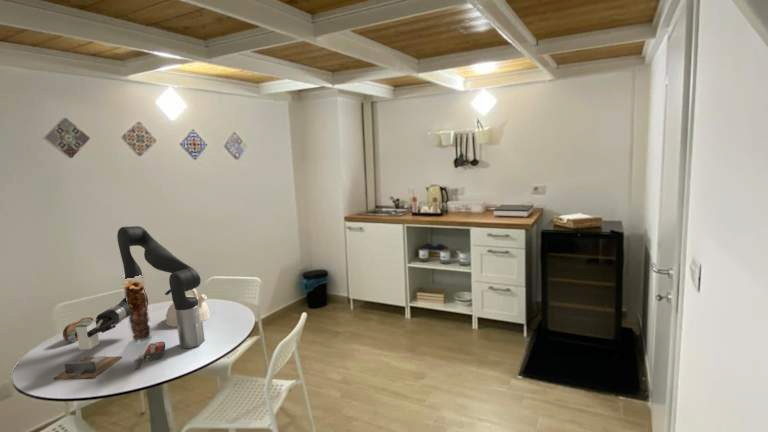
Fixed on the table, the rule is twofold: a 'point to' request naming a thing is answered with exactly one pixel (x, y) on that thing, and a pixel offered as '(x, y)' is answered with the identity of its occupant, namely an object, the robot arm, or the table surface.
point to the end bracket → (80, 367)
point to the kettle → (202, 305)
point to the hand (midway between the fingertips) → (82, 334)
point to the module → (82, 331)
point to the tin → (72, 330)
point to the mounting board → (99, 369)
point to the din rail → (96, 359)
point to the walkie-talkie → (152, 352)
